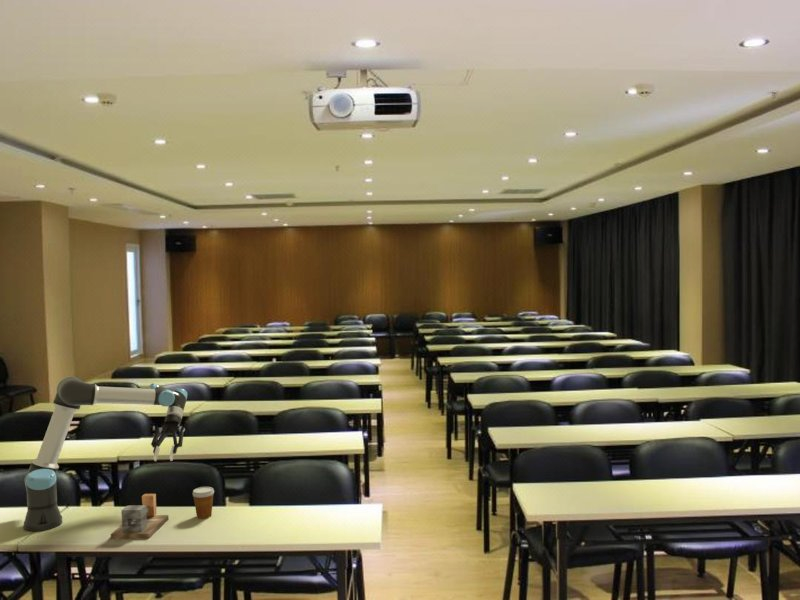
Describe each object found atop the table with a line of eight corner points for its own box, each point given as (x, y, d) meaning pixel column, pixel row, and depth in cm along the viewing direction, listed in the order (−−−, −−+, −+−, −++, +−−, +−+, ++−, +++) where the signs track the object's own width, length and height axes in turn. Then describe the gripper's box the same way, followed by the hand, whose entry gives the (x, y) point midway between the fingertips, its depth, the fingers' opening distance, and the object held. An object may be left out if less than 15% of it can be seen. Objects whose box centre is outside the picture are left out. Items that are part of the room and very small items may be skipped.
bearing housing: (110, 538, 288) (109, 512, 288) (132, 520, 310) (131, 495, 310) (149, 538, 288) (148, 511, 288) (168, 519, 310) (167, 494, 309)
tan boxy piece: (133, 524, 298) (132, 503, 297) (145, 513, 311) (144, 493, 310) (144, 524, 298) (144, 503, 297) (156, 513, 310) (155, 493, 310)
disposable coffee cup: (192, 521, 307) (191, 494, 307) (193, 514, 316) (192, 487, 316) (215, 518, 310) (214, 491, 309) (215, 511, 319) (214, 485, 318)
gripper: (195, 421, 344) (185, 463, 328) (156, 422, 345) (144, 464, 329) (191, 413, 338) (181, 455, 323) (151, 413, 339) (139, 455, 323)
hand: (162, 459), depth 326 cm, fingers open, 7 cm apart
